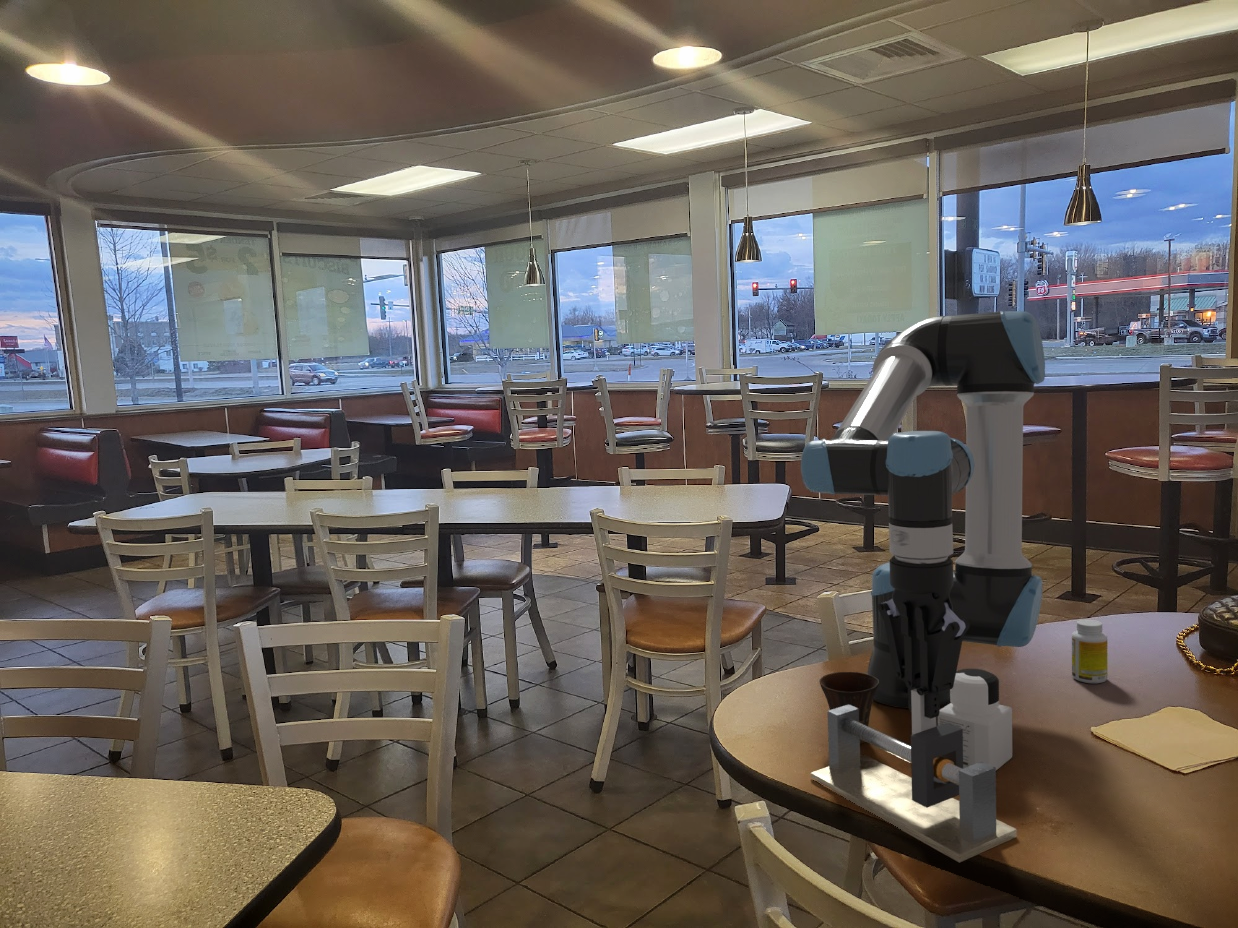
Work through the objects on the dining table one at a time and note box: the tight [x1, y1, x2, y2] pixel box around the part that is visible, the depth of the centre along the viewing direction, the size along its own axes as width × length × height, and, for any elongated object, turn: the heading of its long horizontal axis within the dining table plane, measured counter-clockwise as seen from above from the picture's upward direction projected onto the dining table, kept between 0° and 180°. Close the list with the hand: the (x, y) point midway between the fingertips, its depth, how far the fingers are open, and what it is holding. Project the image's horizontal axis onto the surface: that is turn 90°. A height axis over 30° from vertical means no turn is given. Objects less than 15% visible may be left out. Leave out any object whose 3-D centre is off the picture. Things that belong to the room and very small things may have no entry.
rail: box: [810, 704, 1018, 863], centre depth 120 cm, size 26×10×10 cm, turn 29°
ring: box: [910, 723, 963, 808], centre depth 115 cm, size 2×6×8 cm, turn 119°
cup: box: [818, 671, 879, 744], centre depth 141 cm, size 9×9×10 cm
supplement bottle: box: [1071, 619, 1108, 685], centre depth 160 cm, size 6×6×10 cm
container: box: [937, 668, 1013, 771], centre depth 132 cm, size 8×8×13 cm
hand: (924, 738), depth 116 cm, fingers closed
